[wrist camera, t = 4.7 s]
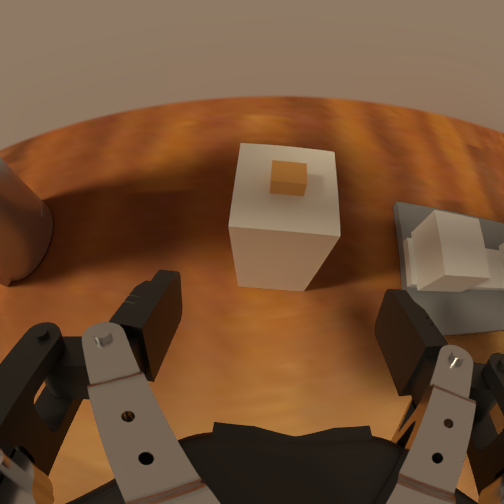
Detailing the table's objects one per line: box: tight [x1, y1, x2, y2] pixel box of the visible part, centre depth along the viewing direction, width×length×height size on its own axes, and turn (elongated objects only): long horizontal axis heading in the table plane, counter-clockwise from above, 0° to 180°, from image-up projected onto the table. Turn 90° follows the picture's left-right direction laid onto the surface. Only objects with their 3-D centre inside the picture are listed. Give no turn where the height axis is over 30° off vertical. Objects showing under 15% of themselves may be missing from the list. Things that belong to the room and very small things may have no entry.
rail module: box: [228, 143, 340, 291], centre depth 18 cm, size 5×5×11 cm
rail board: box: [393, 202, 504, 336], centre depth 19 cm, size 18×12×6 cm, turn 85°
